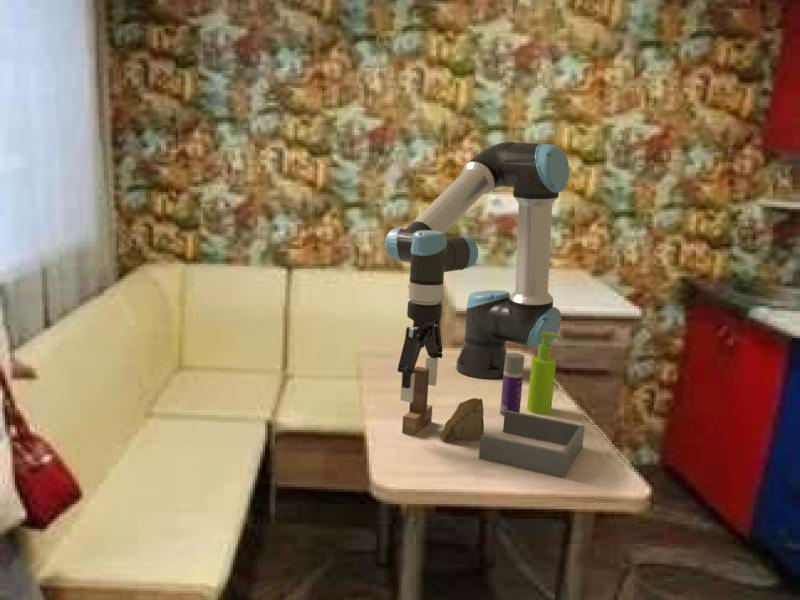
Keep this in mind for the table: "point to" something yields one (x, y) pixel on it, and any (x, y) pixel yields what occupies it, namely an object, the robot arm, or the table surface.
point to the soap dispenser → (542, 377)
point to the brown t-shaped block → (418, 404)
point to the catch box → (531, 454)
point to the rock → (465, 422)
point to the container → (512, 383)
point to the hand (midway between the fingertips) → (418, 392)
